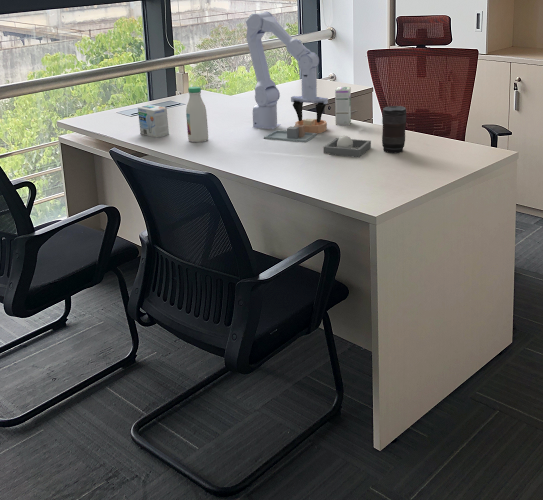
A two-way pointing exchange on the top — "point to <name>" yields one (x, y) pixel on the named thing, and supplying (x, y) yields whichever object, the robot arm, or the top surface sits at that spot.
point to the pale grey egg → (345, 142)
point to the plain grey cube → (293, 132)
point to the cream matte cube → (309, 122)
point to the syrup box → (343, 106)
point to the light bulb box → (153, 121)
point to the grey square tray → (361, 144)
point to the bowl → (317, 128)
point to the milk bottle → (196, 116)
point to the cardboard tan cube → (301, 130)
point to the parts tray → (283, 136)
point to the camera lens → (393, 129)
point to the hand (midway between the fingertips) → (309, 121)
